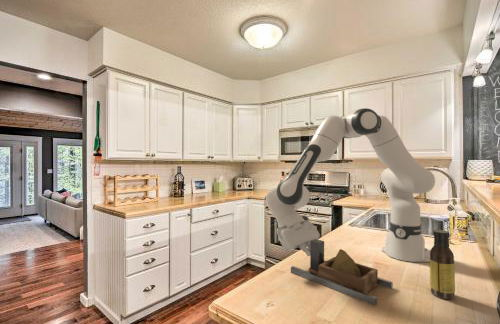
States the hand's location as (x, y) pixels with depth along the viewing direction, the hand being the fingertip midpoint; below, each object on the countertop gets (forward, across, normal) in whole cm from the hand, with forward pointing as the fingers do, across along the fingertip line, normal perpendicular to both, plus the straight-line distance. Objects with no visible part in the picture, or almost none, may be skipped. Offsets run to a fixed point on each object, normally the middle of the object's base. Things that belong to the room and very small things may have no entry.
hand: (311, 254), depth 98 cm
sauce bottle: (+31, +14, -23) cm, 41 cm away
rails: (+12, 0, -4) cm, 12 cm away
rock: (+14, +1, -5) cm, 15 cm away
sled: (+12, 0, -4) cm, 12 cm away
